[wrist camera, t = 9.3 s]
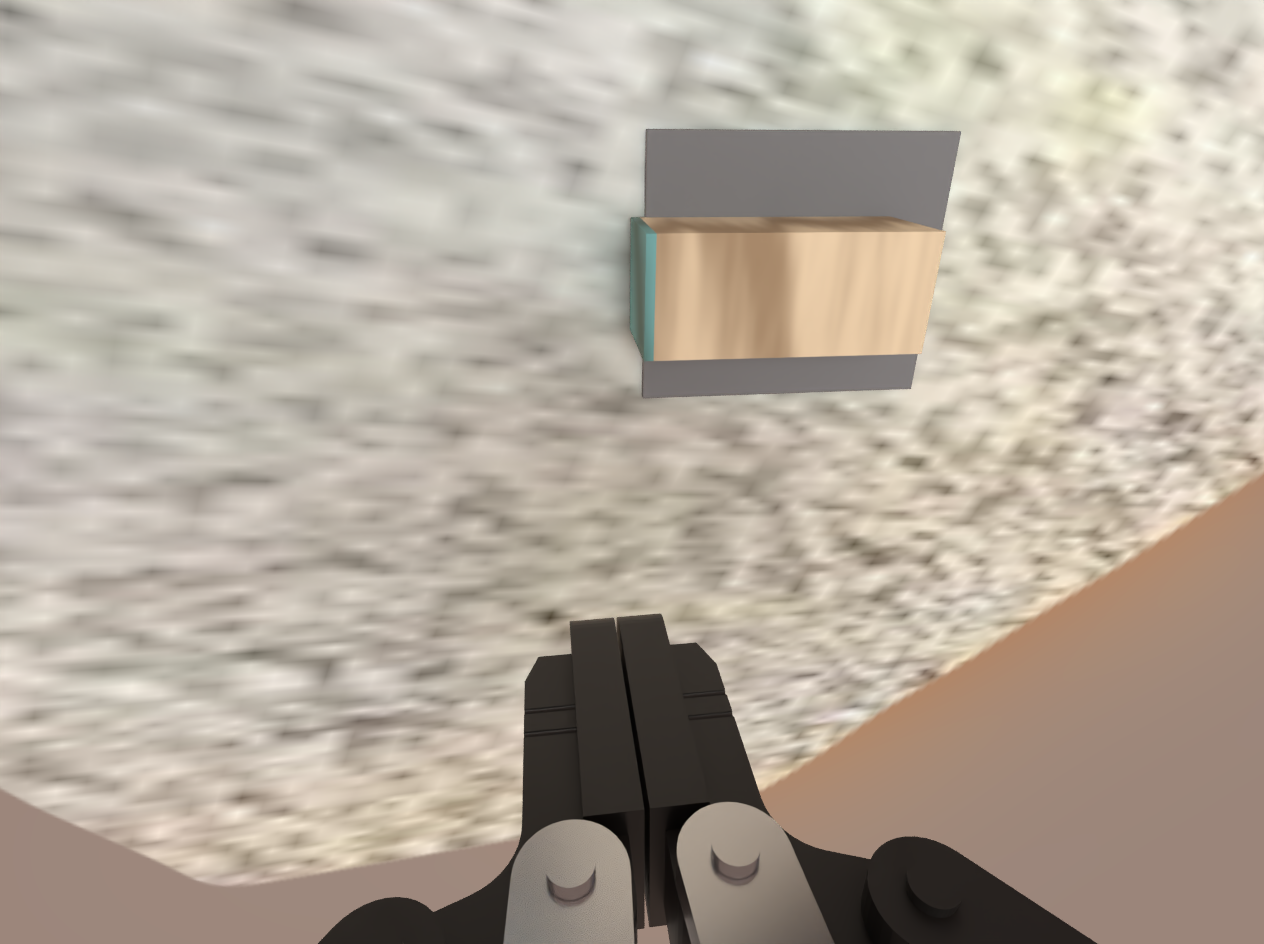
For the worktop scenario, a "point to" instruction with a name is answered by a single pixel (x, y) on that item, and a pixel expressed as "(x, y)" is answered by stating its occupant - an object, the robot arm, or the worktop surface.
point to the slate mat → (793, 187)
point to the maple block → (780, 286)
